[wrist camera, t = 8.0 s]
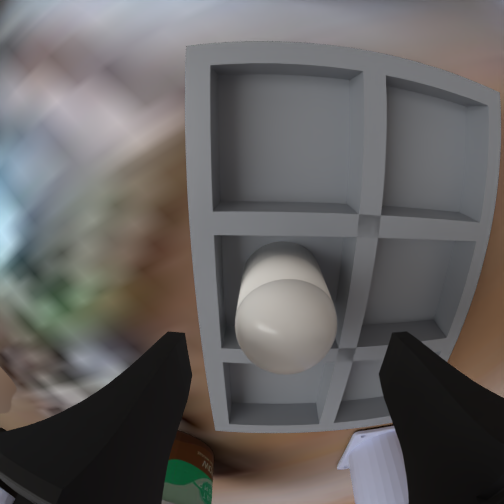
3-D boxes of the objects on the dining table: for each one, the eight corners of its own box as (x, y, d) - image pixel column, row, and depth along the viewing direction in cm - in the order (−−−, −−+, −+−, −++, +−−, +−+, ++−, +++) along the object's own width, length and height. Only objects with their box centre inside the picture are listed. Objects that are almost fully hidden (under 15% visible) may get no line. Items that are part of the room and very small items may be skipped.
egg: (323, 241, 14) (357, 307, 8) (316, 311, 16) (336, 393, 10) (241, 241, 14) (226, 308, 9) (243, 310, 16) (232, 394, 10)
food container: (242, 471, 25) (235, 547, 16) (192, 472, 26) (179, 542, 17) (194, 412, 21) (170, 518, 12) (135, 414, 22) (101, 503, 13)
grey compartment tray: (467, 95, 11) (499, 92, 8) (405, 390, 19) (417, 417, 17) (201, 63, 12) (185, 46, 9) (220, 399, 20) (215, 430, 17)
